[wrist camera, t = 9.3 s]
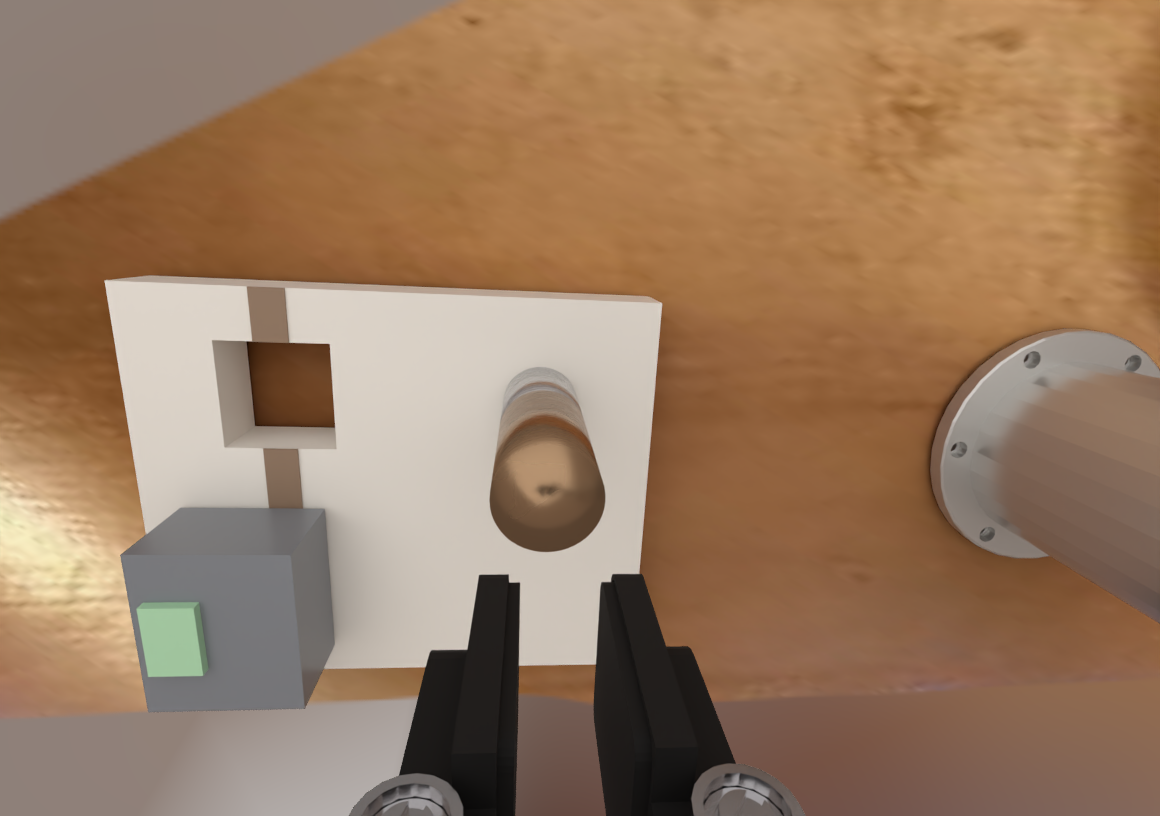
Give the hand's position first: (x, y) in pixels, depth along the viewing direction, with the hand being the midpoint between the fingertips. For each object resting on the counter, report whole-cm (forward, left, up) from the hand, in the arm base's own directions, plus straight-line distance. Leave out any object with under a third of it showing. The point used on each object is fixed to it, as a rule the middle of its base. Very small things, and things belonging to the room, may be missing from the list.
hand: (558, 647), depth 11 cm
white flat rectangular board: (+6, +4, -19) cm, 20 cm away
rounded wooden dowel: (0, 0, -16) cm, 16 cm away
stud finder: (+12, +8, -16) cm, 22 cm away
